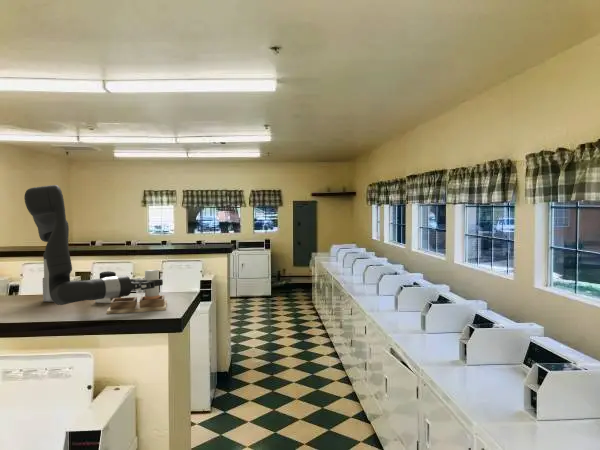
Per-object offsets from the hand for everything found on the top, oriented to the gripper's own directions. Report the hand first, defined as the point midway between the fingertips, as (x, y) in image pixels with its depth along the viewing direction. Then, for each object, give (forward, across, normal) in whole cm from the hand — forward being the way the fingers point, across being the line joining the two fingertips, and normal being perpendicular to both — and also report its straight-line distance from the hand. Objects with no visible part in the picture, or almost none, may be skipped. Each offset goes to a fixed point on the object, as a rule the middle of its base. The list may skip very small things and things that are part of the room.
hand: (158, 281), depth 174 cm
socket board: (-7, +3, +9) cm, 12 cm away
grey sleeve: (-3, 0, +6) cm, 7 cm away
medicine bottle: (-8, +25, +10) cm, 28 cm away
